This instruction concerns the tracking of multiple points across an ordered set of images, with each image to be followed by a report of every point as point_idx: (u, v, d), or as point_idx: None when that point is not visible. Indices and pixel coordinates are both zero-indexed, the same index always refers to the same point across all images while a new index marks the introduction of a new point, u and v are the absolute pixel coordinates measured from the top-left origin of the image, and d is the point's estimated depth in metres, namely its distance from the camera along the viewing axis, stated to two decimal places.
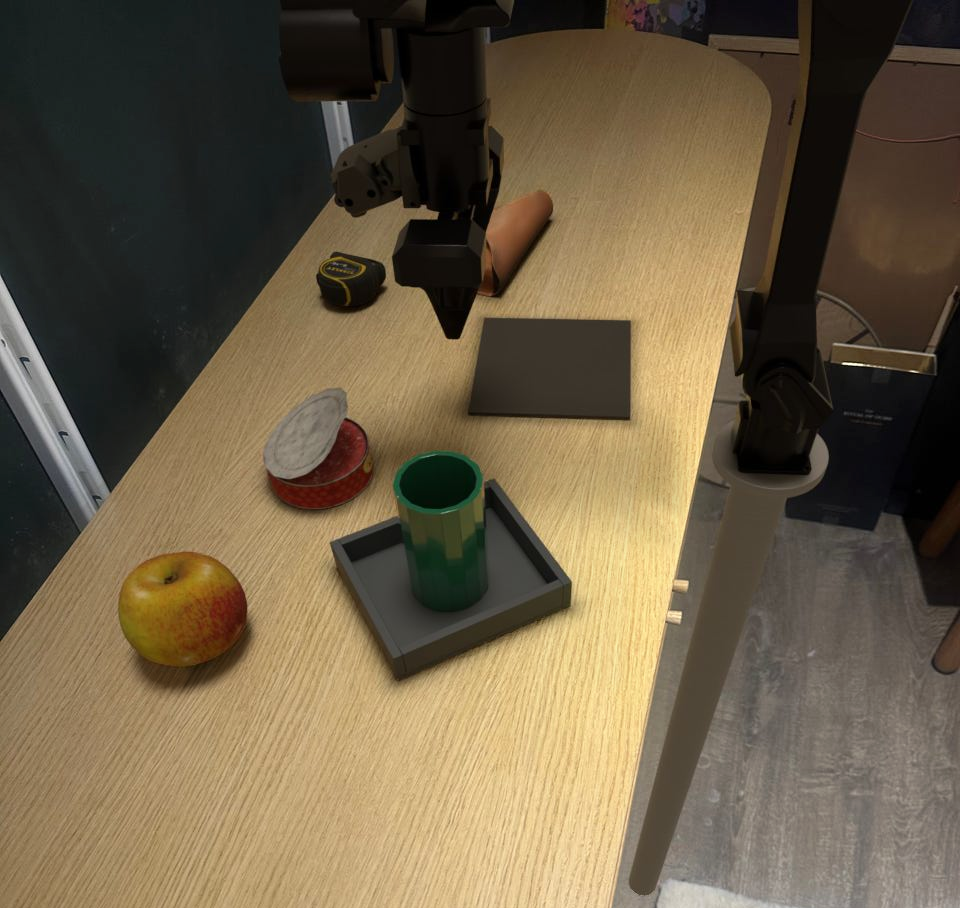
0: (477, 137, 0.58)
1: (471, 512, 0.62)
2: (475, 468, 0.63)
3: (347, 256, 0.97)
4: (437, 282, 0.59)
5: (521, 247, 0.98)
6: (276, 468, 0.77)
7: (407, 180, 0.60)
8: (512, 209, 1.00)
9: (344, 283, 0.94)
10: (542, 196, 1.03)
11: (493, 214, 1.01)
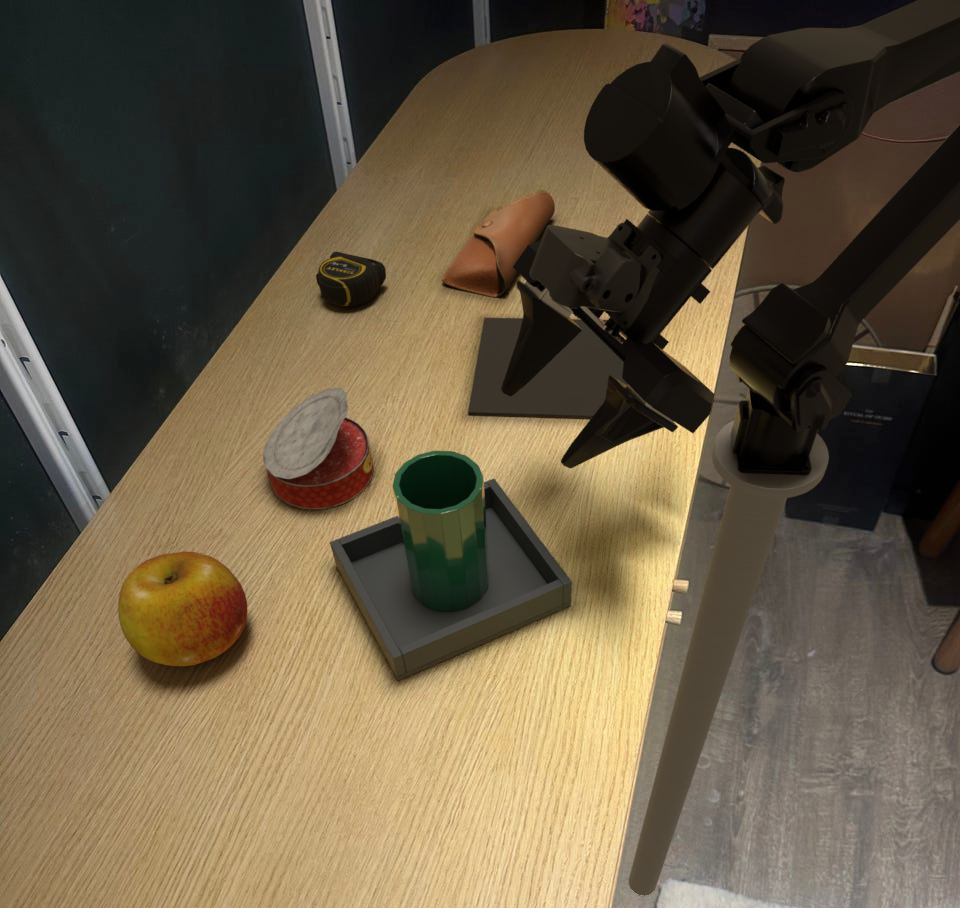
0: (702, 295, 0.58)
1: (471, 512, 0.62)
2: (475, 468, 0.63)
3: (347, 256, 0.97)
4: (677, 417, 0.55)
5: (525, 247, 0.98)
6: (276, 468, 0.77)
7: (640, 300, 0.55)
8: (514, 209, 1.00)
9: (344, 283, 0.94)
10: (544, 196, 1.03)
11: (495, 215, 1.01)
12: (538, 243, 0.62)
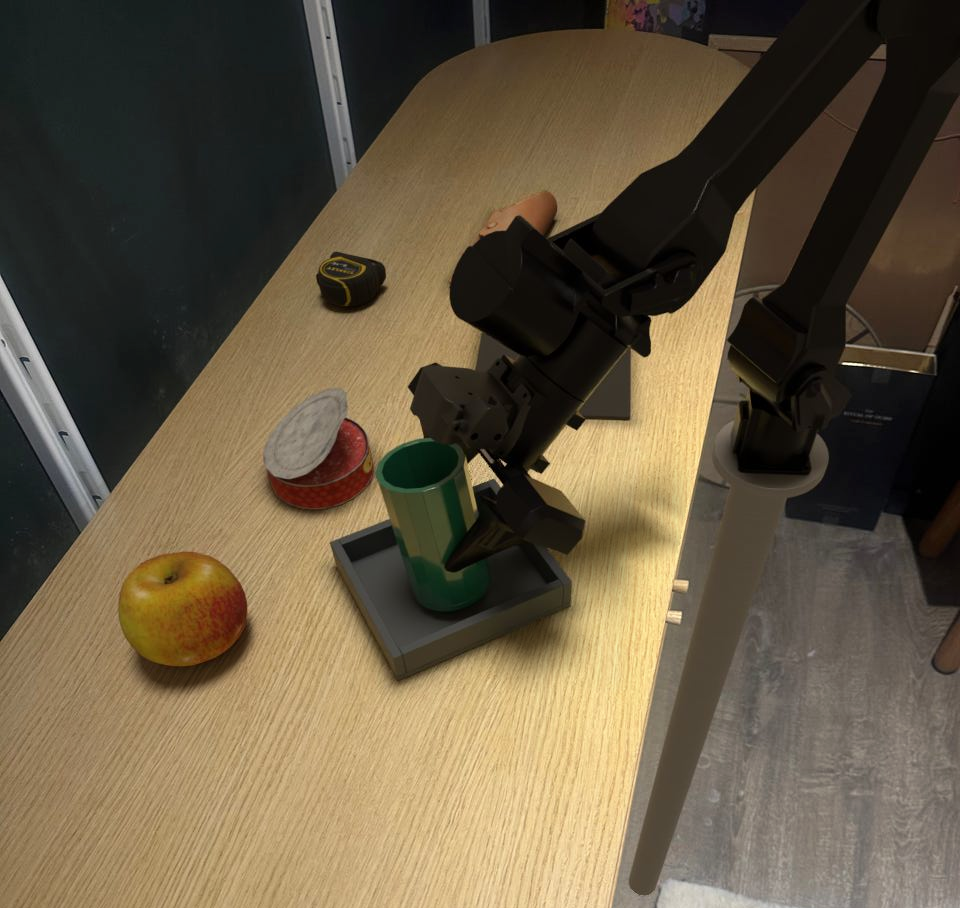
0: (577, 423, 0.61)
1: (455, 490, 0.61)
2: (457, 449, 0.62)
3: (347, 256, 0.97)
4: (549, 544, 0.58)
5: None
6: (276, 468, 0.77)
7: (513, 433, 0.58)
8: (519, 210, 1.00)
9: (344, 283, 0.94)
10: (547, 196, 1.02)
11: (500, 216, 1.01)
12: None
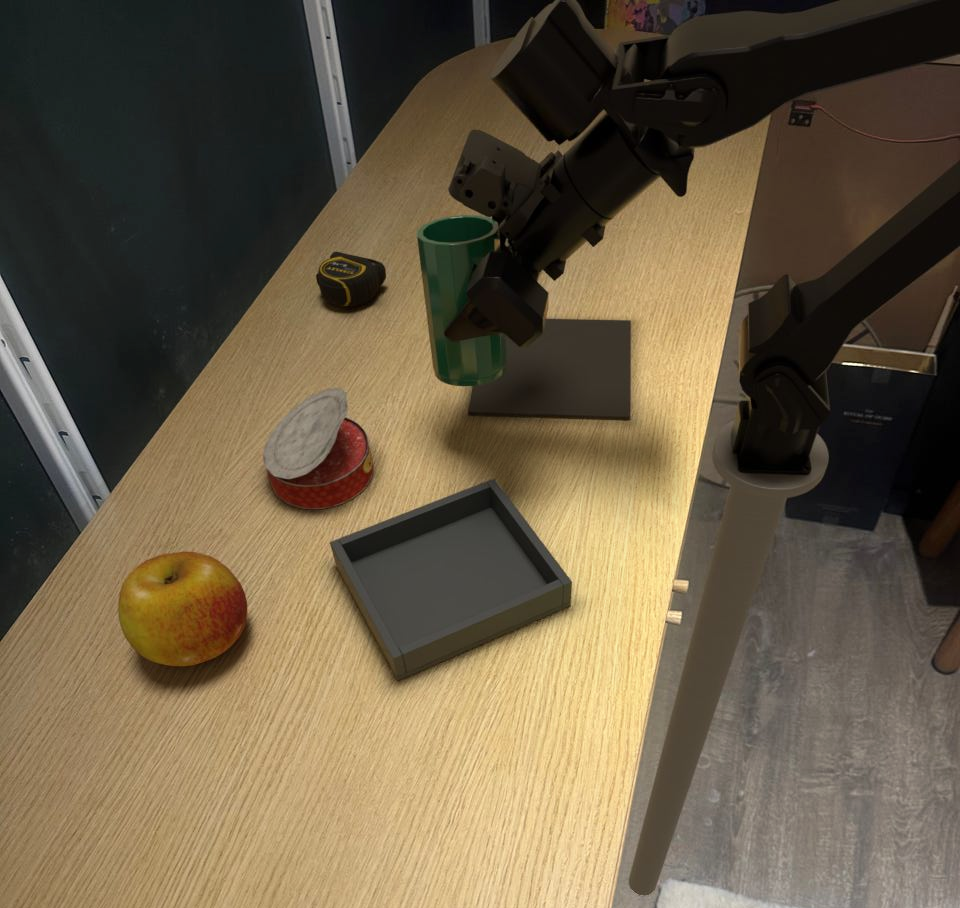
0: (594, 238, 0.64)
1: (466, 258, 0.67)
2: (494, 229, 0.68)
3: (347, 256, 0.97)
4: (498, 322, 0.63)
5: None
6: (276, 468, 0.77)
7: (520, 217, 0.63)
8: None
9: (344, 283, 0.94)
10: None
11: None
12: None
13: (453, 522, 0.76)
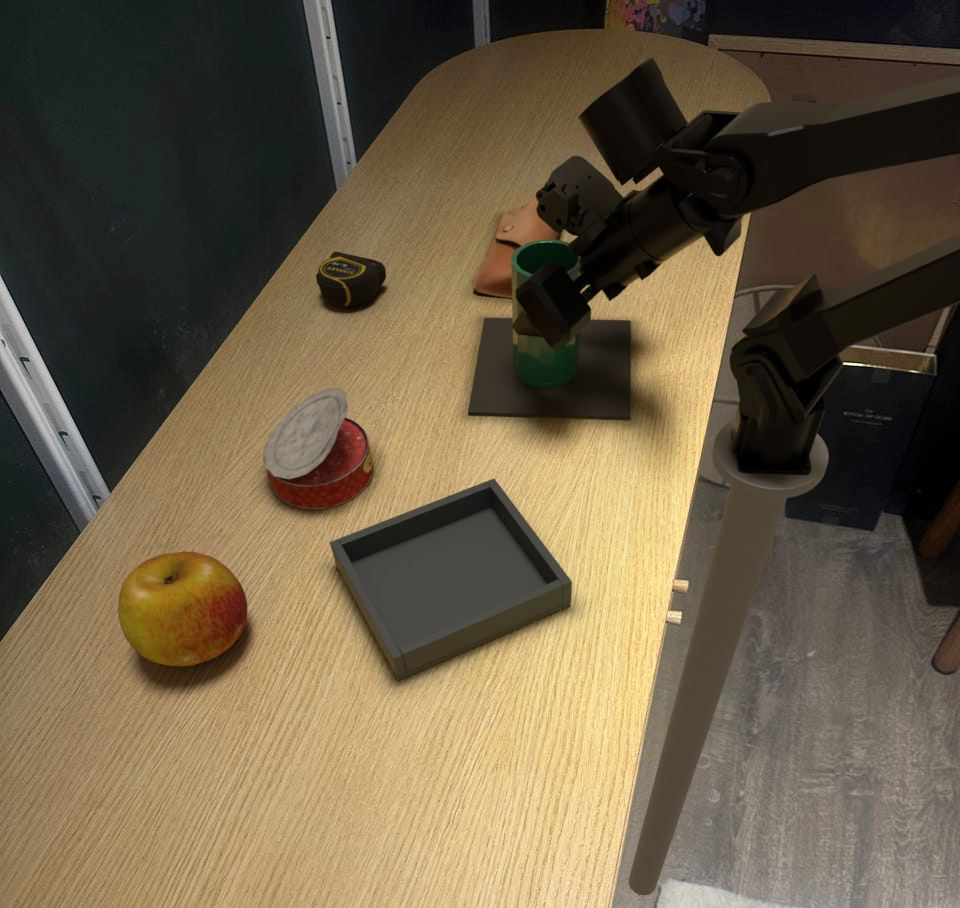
0: (642, 273, 0.72)
1: None
2: (573, 268, 0.77)
3: (347, 256, 0.97)
4: (535, 321, 0.73)
5: None
6: (276, 468, 0.77)
7: (585, 238, 0.72)
8: (533, 212, 1.00)
9: (344, 283, 0.94)
10: None
11: (514, 219, 1.00)
12: (639, 192, 0.79)
13: (453, 522, 0.76)
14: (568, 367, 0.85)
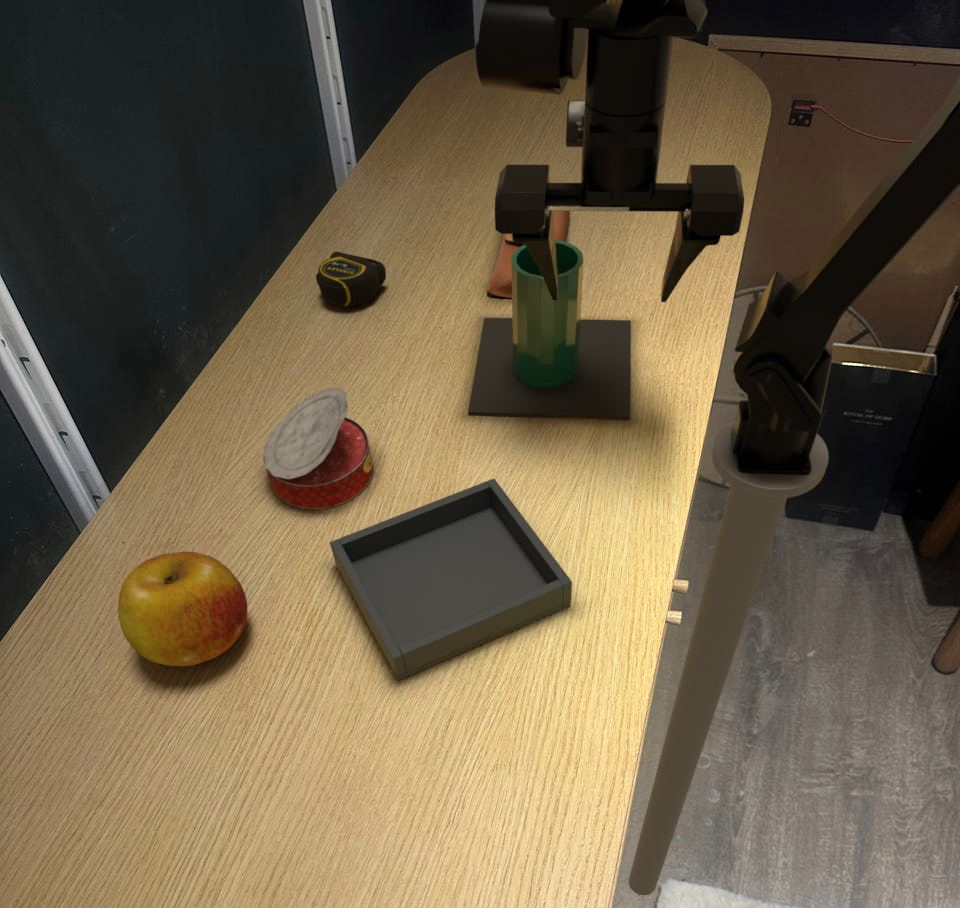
0: (589, 137, 0.61)
1: (538, 289, 0.77)
2: (573, 268, 0.77)
3: (347, 256, 0.97)
4: None
5: None
6: (276, 468, 0.77)
7: None
8: None
9: (344, 283, 0.94)
10: None
11: None
12: None
13: (453, 522, 0.76)
14: (568, 367, 0.85)
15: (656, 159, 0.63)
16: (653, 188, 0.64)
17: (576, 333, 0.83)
